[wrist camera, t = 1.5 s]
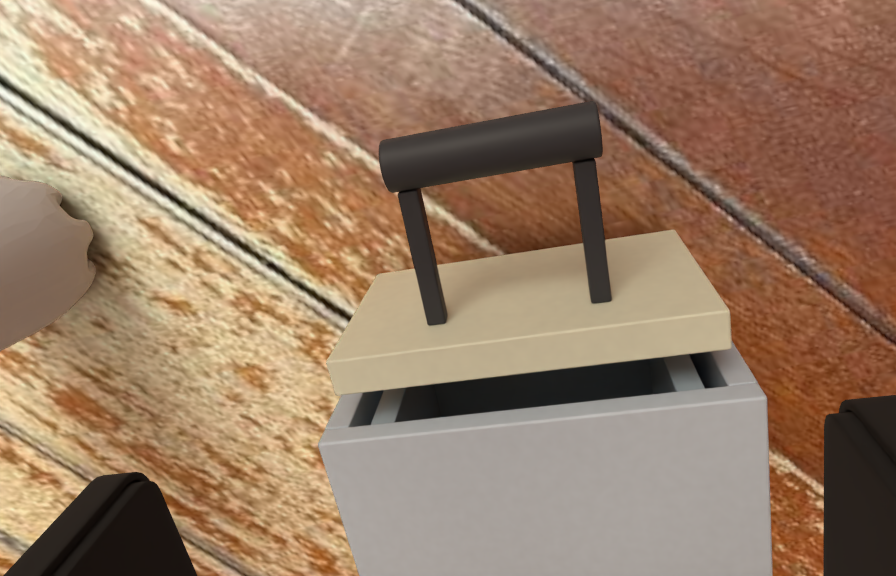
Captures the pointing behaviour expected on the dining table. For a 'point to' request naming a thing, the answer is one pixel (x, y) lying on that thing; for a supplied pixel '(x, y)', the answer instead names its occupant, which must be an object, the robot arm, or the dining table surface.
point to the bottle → (38, 259)
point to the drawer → (524, 292)
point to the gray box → (562, 484)
